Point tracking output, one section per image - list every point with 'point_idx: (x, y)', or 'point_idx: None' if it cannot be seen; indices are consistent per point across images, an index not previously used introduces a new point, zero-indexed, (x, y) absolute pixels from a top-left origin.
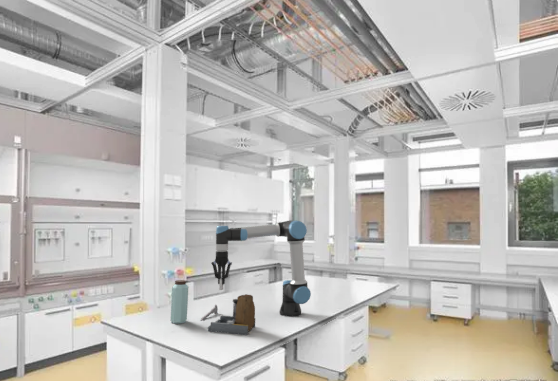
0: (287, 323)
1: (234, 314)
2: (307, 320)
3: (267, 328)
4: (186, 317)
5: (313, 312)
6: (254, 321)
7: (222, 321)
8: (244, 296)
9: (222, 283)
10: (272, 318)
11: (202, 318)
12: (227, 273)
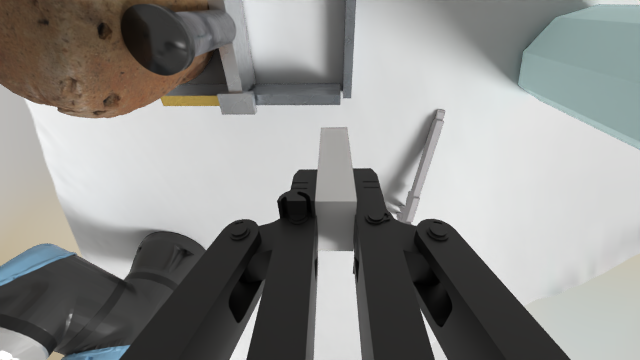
0: (117, 170)
1: (206, 10)
2: (93, 212)
3: None
4: (527, 74)
5: None
6: (169, 92)
7: (328, 86)
8: (1, 7)
9: (314, 175)
10: (195, 206)
11: (438, 120)
12: (165, 303)
